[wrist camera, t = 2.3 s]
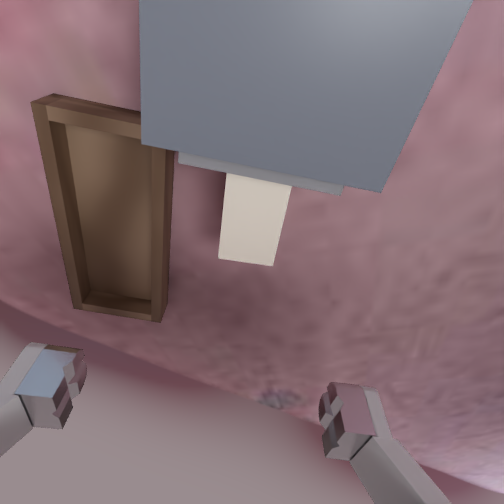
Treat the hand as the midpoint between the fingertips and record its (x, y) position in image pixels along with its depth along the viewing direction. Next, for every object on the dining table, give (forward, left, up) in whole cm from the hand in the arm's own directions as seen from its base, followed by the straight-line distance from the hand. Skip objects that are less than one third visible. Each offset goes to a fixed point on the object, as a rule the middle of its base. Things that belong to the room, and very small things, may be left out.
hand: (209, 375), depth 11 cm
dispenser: (-1, -8, -12) cm, 14 cm away
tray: (+7, +3, -12) cm, 14 cm away
